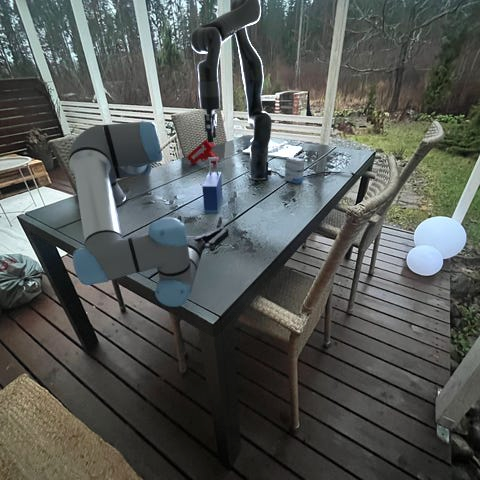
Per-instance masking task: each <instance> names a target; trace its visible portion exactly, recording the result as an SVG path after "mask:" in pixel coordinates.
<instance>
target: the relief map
mask: <svg viewBox="0 0 480 480" xmlns="http://www.w3.org/2000/svg"><path fill="white" fill-rule="evenodd" d="M302 147H303V146H294V145H292V144H290V143H289V142H288V141H284V142H282V143H280V144H279V143H278V142H276V141H273V140H272V139H271V138H270V141H269V145H268V157H271V158H277V159H285V160H286V159H287V158H289V157H296V156H297V155H298V154H299V153H300V152H302V151H303V150H304V148H303V149H302ZM250 148H251V145H250V146H249V147H248V148H247V149H245V150H242V153H243V154H247V155H248V154H249V155H250ZM296 153H297V154H296Z"/></svg>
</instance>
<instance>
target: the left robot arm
mask: <svg viewBox="0 0 480 480" xmlns="http://www.w3.org/2000/svg"><path fill="white" fill-rule="evenodd" d="M162 160H163V152H162V148H161V143H160V139H159V134H158V129H157V126H156V124H155V122H153V121H148V120H147V121H145V120H141V121H132V122H121V123H109V124H96V125H94V126H90V127H88V128H87V129H84V130H83V131H82V132H81V133H80V134H78V136H77V137H76V138H75V139H74V141H73V142H72V145H71V146H70V149H69V152H68V167H69V170H70V172H71V173H72V174H73V176H74V177H75V183H76V184H75V185H76V191H77V199H78V206H79V213H80V219H81V220H80V222H81V228H82V237H83V243H84V246H83V247H81V248H78V249H75V250H74V251H73V253H72V265H73V269H74V273H75V275H76V277H77V279H78V281H79V282H80V283H81V284H82V285H84V286H91V285H92V286H93V285H97V284H102V283H103V284H104V283H108V282H109V281H112V280H117V279H119V278H124V277H127V276H131V275H133V274H139V273H143V272H146V271H149V270H153V269H156V270H157V275H158V282H157V283H156V287H155V290H154V295H155V298H156V299H157V301H158V302H159V303H160V304H162V305H164V306H166V307H171V308H172V307H173V308H178V307H181V306H183V305H184V304H185V303H186V302H187V301H188V299H189V296H190V294H191V292H192V289H193V284H194V281H195V277H196V275H197V274H196V273H197V270H198V268H199V264H200V261H201V258H202V254H203V251H205V249H209V251H210V252H214V251H215V250H216V248H217V247H218V246H219V245H220V244H221V243H222V242H223V241H225V240H226V239H227V238H229V228H227V227H225V224H224V223H223V219H222V216H218V220H217V223H216V228H215V229H213V230H210V231H209V232H207V233H205V234H204V233H202V234H200V235H194V236H192V235H187V231H186V227H185V223H184V222H183V221H182V220H183V219H182V216H181V215H178V217H177V218H175V217H163V218H159V219H158V220H155V221H153V222H151V223H150V224H149V226H148V232H147V233H144V234H140V235H136V236H131V237H127V238H124V234H123V230H122V229H123V228H122V225H121V221H120V218H119V217H120V216H119V213H118V209H117V208H118V207H120V206H122V205H124V204H125V203H126V201H127V195H126V193H124V191H123V190H122V188H121V187H120V185H119V184H118V180H117V179H123V178H124V179H125V178H131V177H138V176H146V175H149V174H150V173H151V171H152V164H156V163H159V162H162Z"/></svg>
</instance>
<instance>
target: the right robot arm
mask: <svg viewBox="0 0 480 480" xmlns="http://www.w3.org/2000/svg"><path fill="white" fill-rule="evenodd" d="M261 13H262V7H261V2H260V0H232V1H231V3H230V10H229V11H227V12H225V13H223V14H221V15H219V16H218V17H216V18H215V19H214V20H212V21H211V22H207V23H205V24H202V25H199V26H197V27H196V28H195V29H193V31H192V32H191V36H190V46H191V48H192V49H193V50H194V51H195V52H196V53H197V54H207V55H206V58H205V60H202V61H200V62H199V63H198V64H197V73H198V95H199V107H200V108H199V109H200V110H205V111H206V112H205V113H204V115H203V116H204V131H205V133H206V138H207V139H206V140H207V141H208V143H214V139H215V138H217V126H218V125H217V124H218V122H217V110H220V108H221V101H220V98H221V97H220V85H219V73H218V71H219V70H218V69H219V61H220V55H221V50H222V44H223V43H225V42H226V41H227V40H228V39H230V38H231V37H232V36H233V35H234V36H235V39H236V44H237V47H238V54H239V61H240V67H241V75H242V82H243V85H244V92H245V97H246V105H247V119H248V125H249V127H250V128H251V129H253V137H252V138H251V139H250V146H251V148H250V154H249V157H250V158H249V160H250V161H249V165H250V166H249V178H250V180H253V181H256V182H257V181H265V180H268V179H269V176H272V174H276V175H278V176H279V177H280V178H284V179H285V175H282V174H281V173H279V172H277V171H274V170H272V168H271V167H269V156H268V145H269V141H270V139H271V136H272V126H273V125H272V124H273V122H272V117H271V115H270V114H269V113H268V112H266V111H264V108H263V102H262V92H263V86H264V69H263V62H262V59H261V57H260V56H259V53H257V50H256V49H255V48H254V47H253V45H252V44H251V41H250V39H249V36H248V32H247V27H248V26H252V25H254V24H256V23H257V22H259V20H260V18H261ZM341 172H342V171H319V173H318V172H314V173H315V174H314V173H310V174H311V175H309V174H306V175H307V176H305V175H303V179H304V178H308V177H311V176H315V175H321V174H335V175H336V174H338V175H339V174H340V175H341V174H342V173H341ZM350 174H351V175H352V176H355V173H354V172H353V173H350Z"/></svg>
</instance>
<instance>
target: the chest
mask: <svg viewBox="0 0 480 480" xmlns="http://www.w3.org/2000/svg"><path fill="white" fill-rule="evenodd" d="M202 198H203V211H204V214H219V211H220V208H221V204H222V200H223V183H222V176H221V177H220V180H219V183H218V186H217V189H203V188H202Z"/></svg>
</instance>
